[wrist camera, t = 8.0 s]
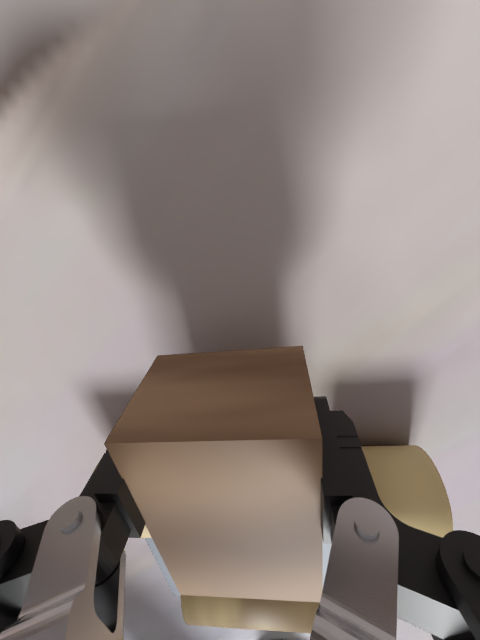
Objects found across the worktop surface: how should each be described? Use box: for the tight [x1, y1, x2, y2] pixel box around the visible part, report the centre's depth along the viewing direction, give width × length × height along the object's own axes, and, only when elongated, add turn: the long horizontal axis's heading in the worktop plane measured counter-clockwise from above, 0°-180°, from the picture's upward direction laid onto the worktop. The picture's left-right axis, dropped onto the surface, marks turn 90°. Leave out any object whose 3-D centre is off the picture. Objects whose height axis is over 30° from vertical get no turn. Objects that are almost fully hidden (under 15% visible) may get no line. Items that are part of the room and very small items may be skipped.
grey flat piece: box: [94, 445, 453, 596], centre depth 19 cm, size 18×18×4 cm
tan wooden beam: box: [104, 346, 323, 633], centre depth 11 cm, size 12×6×4 cm, turn 8°
